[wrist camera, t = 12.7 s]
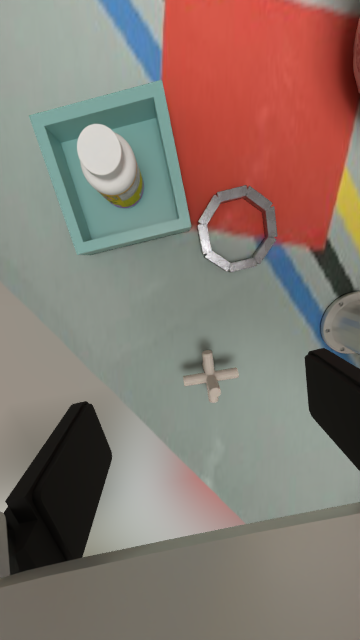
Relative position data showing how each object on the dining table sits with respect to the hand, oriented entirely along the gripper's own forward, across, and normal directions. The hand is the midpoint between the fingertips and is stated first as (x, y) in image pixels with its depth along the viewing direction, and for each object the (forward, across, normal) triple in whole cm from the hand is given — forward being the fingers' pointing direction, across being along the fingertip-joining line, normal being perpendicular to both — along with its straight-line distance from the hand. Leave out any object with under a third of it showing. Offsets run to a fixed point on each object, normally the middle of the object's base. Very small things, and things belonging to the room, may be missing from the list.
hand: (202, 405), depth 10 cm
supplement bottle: (+32, +5, -19) cm, 38 cm away
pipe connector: (+34, -2, +16) cm, 37 cm away
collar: (+33, -12, -8) cm, 36 cm away
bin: (+33, +5, -19) cm, 39 cm away
